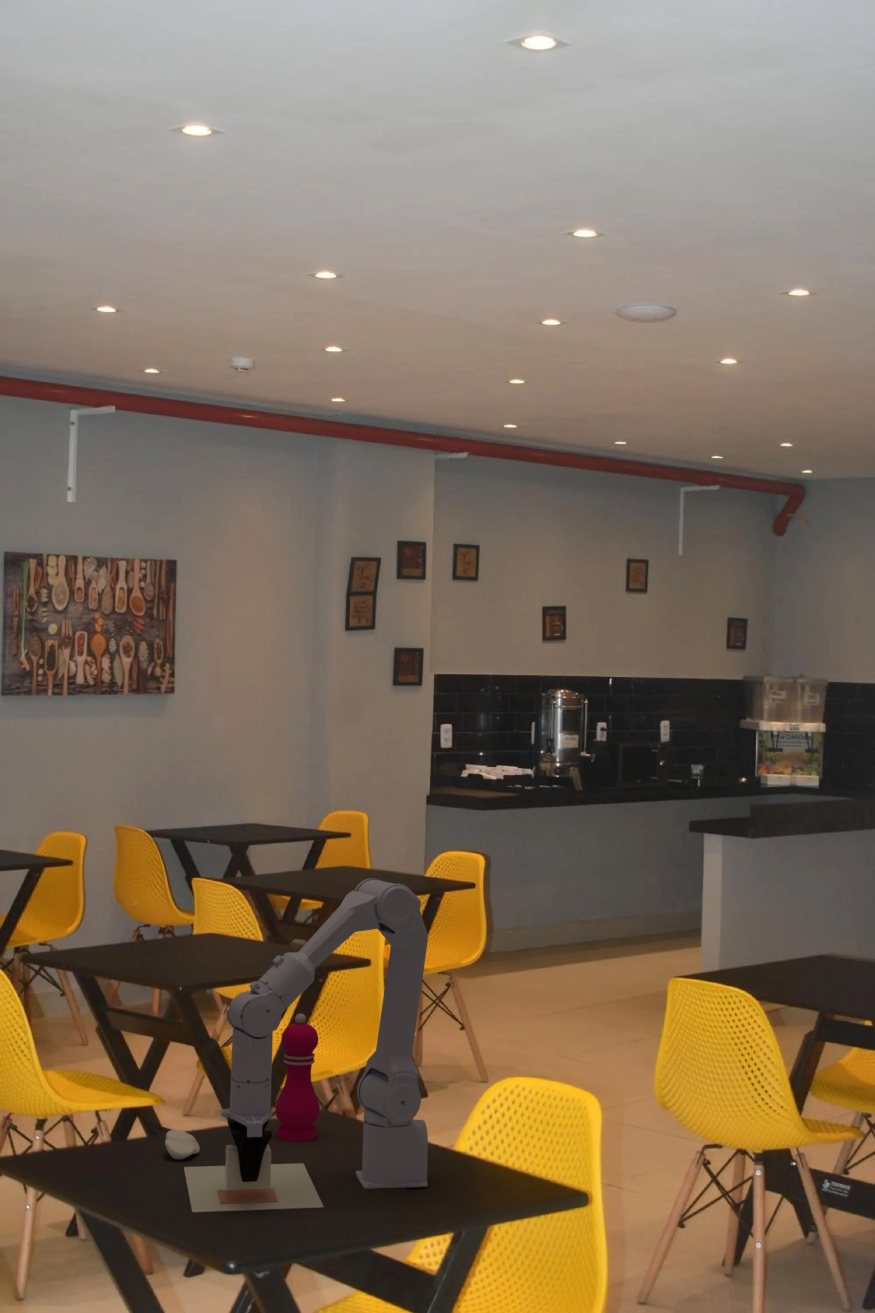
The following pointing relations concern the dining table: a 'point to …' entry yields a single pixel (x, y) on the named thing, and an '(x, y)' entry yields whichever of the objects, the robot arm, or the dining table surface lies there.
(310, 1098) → the pepper mill
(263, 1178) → the plain grayish brown block
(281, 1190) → the mat
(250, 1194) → the flat orange brown slab
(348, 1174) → the dining table surface
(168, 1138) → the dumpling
